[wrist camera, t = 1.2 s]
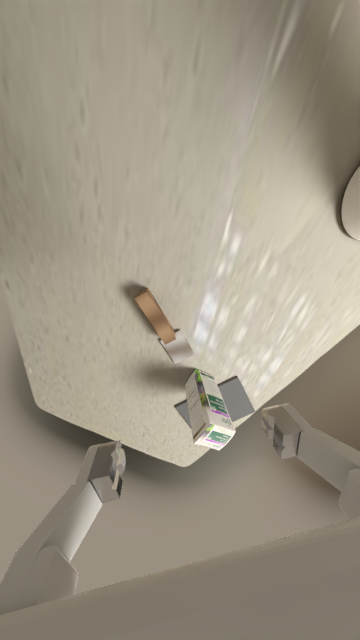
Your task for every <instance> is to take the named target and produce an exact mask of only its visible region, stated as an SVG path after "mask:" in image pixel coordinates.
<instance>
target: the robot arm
mask: <svg viewBox="0 0 360 640" xmlns="http://www.w3.org/2000/svg"><path fill="white" fill-rule="evenodd" d="M342 221H343V225H344V228H345V230H346V231H347V233H348V234H349V235H350V236H351V237H352V238H354V239H356V240H359V241H360V166H359V167H358V169H357V170H356V172H355V173H354V175H353V176H352V178H351V180H350V182H349V184H348V186H347V189H346V191H345V194H344V198H343V202H342ZM262 415H263V418H262V419H261V423H262V427H263V430H264V432H265V434H266V436H267V437H268V438H269V439H271V440H272V441H273V447H274V449H275V450H276V452H277V454H278V455H279V457H280V458H281V459H285V458H290V457H295V456H297V458H299V459H300V460H301V461H302V462H304V463H305V464H306V465H308V466H309V467H310V468H311V469H313V470H314V471H315V472H317V473H318V474H319V475H320V476H322V477H323V478H324V479H325V480H327V481H328V482H329V483H331V484H332V485H333V486H334V487H336V488H337V489H338V490H340V491H341V492H342V494H341V496H340V499H339V507H340V508H341V510H342V511H343V512H344V514H345V515H346V517H347V518H348V519H349V520H346V521H342V522H339V523H335V524H331V525H328V526H324V527H321V528H317V529H313V530H309V531H306V532H302V533H299V534H295V535H291V536H288V537H284V538H280V539H276V540H273V541H269V542H265V543H262V544H258V545H255V546H251V547H247V548H243V549H240V550H236V551H232V552H229V553H225V554H222V555H218V556H214V557H210V558H207V559H203V560H200V561H196V562H192V563H188V564H185V565H181V566H177V567H174V568H170V569H166V570H163V571H159V572H156V573H152V574H148V575H144V576H141V577H137V578H134V579H130V580H126V581H122V582H119V583H115V584H112V585H108V586H104V587H100V588H97V589H93V590H90V591H86V592H82V593H78V594H75V595H74V592H75V588H76V584H77V580H78V576H79V575H78V572H77V570H76V569H75V568H74V567H73V566H72V564H71V563H70V561H71V559H72V558H73V555H74V554H75V552H76V550H77V549H78V547H79V545H80V543H81V541H82V540H83V538H84V536H85V534H86V533H87V531H88V529H89V527H90V526H91V524H92V522H93V520H94V519H95V517H96V515H97V513H98V511H99V510H100V508H101V506H102V503H104V502H108V501H112V500H115V499H118V498H120V495H121V489H122V483H123V481H122V479H121V475H122V474H123V472H124V470H125V452H124V450H123V449H121V442H120V440H119V441H114V442H109V443H104V444H99V445H94V446H90V448H89V449H88V451H87V454H86V456H85V459H84V461H83V464H82V467H81V469H80V472H79V475H78V478H77V480H76V483H75V484H74V485H72V486H71V487H70V488H69V489H68V490H67V492H66V493H65V494H64V495H63V496H62V498H61V499H60V500H59V501H58V503H57V504H56V505H55V506H54V507H53V509H52V510H51V511H50V512H49V513H48V515H47V516H46V517H45V518H44V519H43V521H42V522H41V523H40V524H39V526H38V527H37V528H36V529H35V530H34V532H33V533H32V534H31V535H30V537H29V538H28V539H27V540H26V541H25V542H24V544H23V545H22V546H21V547H20V548H19V550H18V551H17V552H16V553H15V555H14V557H13V560H12V562H11V564H10V566H9V568H8V570H7V572H6V574H5V576H4V578H3V580H2V582H1V584H0V640H360V452H359V451H357V450H355V449H354V448H351V447H350V446H348V445H346V444H344V443H342V442H340V441H338V440H336V439H335V438H333V437H331V436H329V435H327V434H325V433H323V432H321V431H319V430H318V429H312V427H311V426H310V425H309V424H308V423H307V422H306V421H305V420H304V419H303V418H302V417H301V415H300V414H299V413H298V412H297V411H296V410H295V409H294V408H293V407H292V406H291V405H290V404H289V403H286V404H282V405H276V406H272V407H268V408H263V409H262Z"/></svg>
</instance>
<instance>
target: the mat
mask: <svg viewBox="0 0 360 640" xmlns="http://www.w3.org/2000/svg"><path fill="white" fill-rule="evenodd" d="M217 386H218V388H219V391H220V393H221V396H222V398H223V401H224V403H225V406H226V408H227V411H228V413H229V416H230V418H231V420H232V422H233V421H236V420H238V419H240V418H242V417H244V416H247V415H249V414H251V413H253V412H255V410H254V408H253V406H252V404H251V402H250V400H249V398H248V396H247V394H246V392H245V390H244V388H243V386H242V384H241V382H240V380H239V378H238V377H237V376H236V377H234V378H232V379H230V380H228V381H226V382H224V383H222V384H219V385H217ZM175 407H176V409H177V410H178V411H179V413H180V414H181V415H182V417H183V418H184V419H185V420H186V422H187V423H188V424H189V426H190V427H191V422H190V416H189V409H188V403H187V400H186V401H184V402H182V403H180V404H178V405H176V406H175Z"/></svg>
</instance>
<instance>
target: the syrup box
mask: <svg viewBox="0 0 360 640" xmlns="http://www.w3.org/2000/svg"><path fill="white" fill-rule="evenodd" d="M185 390H186V396H187V403H188V409H189V416H190V422H191V428H192V435H193V441H194V444H199V445H202V446H205V447H209V448H213V449H216V450H220V449H221V448H223V447H224V446H225V445H226V444H227V443H228V442H229V441H230V439H231V438H232V436H233V435H234V434H235V432H236V431H235V428H234V426H233V423H232V420H231V418H230V416H229V413H228V411H227V408H226V406H225V403H224V401H223V398H222V396H221V393H220V391H219V388H218V386H217V383H216V380H215V378H214V376H212V375H209V374H207V373H205V372H202V371H200V370H197V369H195V370H194V372H193V373H192V375H191V376H190V378H189V379H188V381H187V383H186V384H185Z"/></svg>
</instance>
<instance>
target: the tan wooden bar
mask: <svg viewBox="0 0 360 640" xmlns="http://www.w3.org/2000/svg"><path fill="white" fill-rule="evenodd" d="M134 299H135V300H136V302H137V303H138V305H139V306H140V308H141V309H142V311H143V312H144V314H145V315H146V317H147V318H148V320H149V321H150V323H151V324H152V326H153V327H154V329H155V330H156V332H157V333H158V335H159V336H160V338H161V339H160V342H161V343H162V345H163V346H164V348H165V349H166V351H167V352H168V354H169V355H170V357H171V358H172V360H173V361H174V363H175V364H177V363H179V362H181V361H182V360H184V359H186V358H188V357H190V356H192V355H194V352H193V350H192V349H191V347H190V345H189V344H188V342H187V340H186V339H185V337H184V335H183V334H182V332H181V330H180V329H179V330H177V331H174V330H173V328H172V326H171V325H170V323H169V321H168V320H167V318H166V316H165V315H164V313H163V312H162V310H161V308H160V307H159V305H158V303H157V302H156V300H155V299H154V297H153V295H152V294H151V292H150V290H149V289H148V288H147V289H145V290H144V291H142V292H140V293H138V294H137V295H136V297H135V298H134Z"/></svg>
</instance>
